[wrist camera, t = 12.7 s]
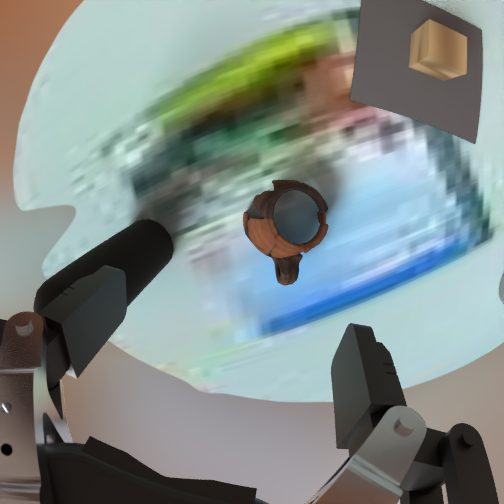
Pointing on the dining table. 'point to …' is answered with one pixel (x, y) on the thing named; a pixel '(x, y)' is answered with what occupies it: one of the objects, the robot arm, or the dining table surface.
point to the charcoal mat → (408, 79)
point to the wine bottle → (116, 261)
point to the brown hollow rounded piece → (271, 240)
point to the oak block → (438, 51)
